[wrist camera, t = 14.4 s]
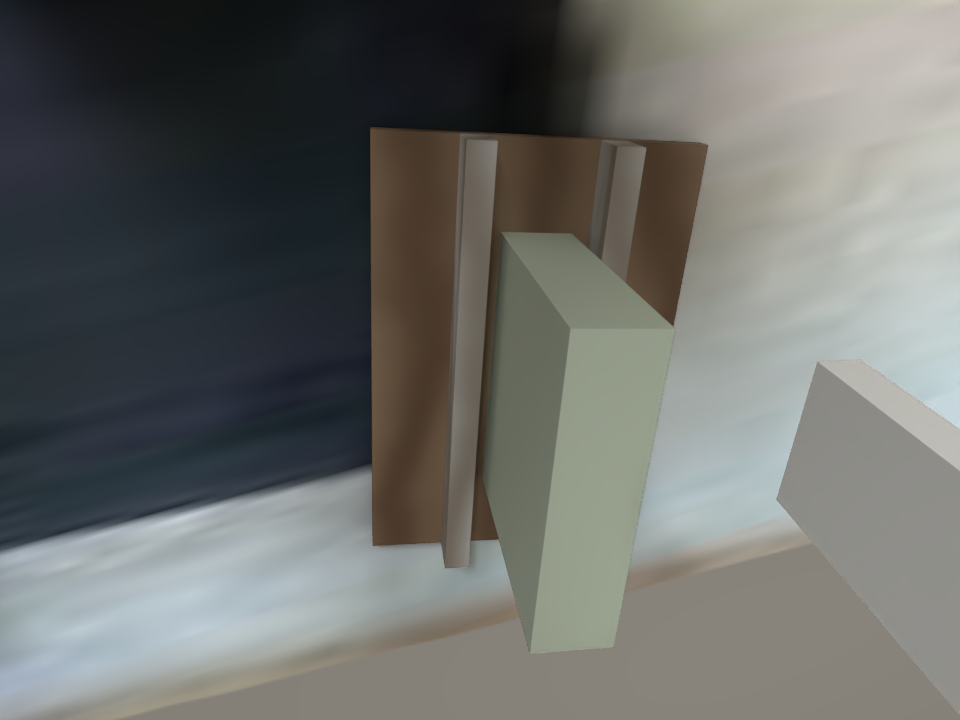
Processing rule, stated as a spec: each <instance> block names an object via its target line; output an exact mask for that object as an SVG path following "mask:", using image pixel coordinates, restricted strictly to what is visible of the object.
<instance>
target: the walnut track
mask: <svg viewBox="0 0 960 720" xmlns="http://www.w3.org/2000/svg"><path fill="white" fill-rule="evenodd" d="M707 148H708V145H706V144H703V143H696V142H675V141H654V140H633V139H612V138H590V137H569V136H548V135H527V134H506V133H485V132H464V131H443V130H422V129H401V128H379V127H370V178H371V349H372V520H373V546H378V545H397V544H416V543H436V542H441V545H442V551H443V558H444V564H445V568H458V567H469V553H470V541H474V540H493V539H499V538H498V534H497V530H496V527H495V523H494V519H493V516H492V512H491V508H490V504H489V501H488V497H487V493H486V490H485V486H484V482H483V478H482V477H483V464H484V450H485V437H486V423H487V410H488V397H489V383H490V370H491V356H492V343H493V330H494V316H495V303H496V289H497V276H498V263H499V249H500V236H501V232H526V233H569V234H573V235H574V236H575V237H576V238H577V239H578V240H579V241H580V242H581V243H583V244H584V245H585V246H586V247H587V248H588V249H589V250H590V251H591V252H592V253H593V254H595V255H596V256H597V257H598V258H599V259H600V260H601V261H602V262H603V263H604V264H605V265H607V266H608V267H609V268H610V269H611V270H612V271H613V272H614V273H615V274H616V275H617V276H619V277H620V278H621V279H622V280H623V281H624V282H625V283H626V284H627V285H628V286H629V287H631V288H632V289H633V290H634V291H635V292H636V293H637V294H638V295H639V296H640V297H641V298H642V299H644V300H645V301H646V302H647V303H648V304H649V305H650V306H651V307H652V308H653V309H654V310H656V311H657V312H658V313H659V314H660V315H661V316H662V317H663V318H664V319H665V320H666V321H668V322H669V323H670V324H671V325H672V326H673V325H674V320H675V315H676V310H677V304H678V299H679V294H680V289H681V284H682V278H683V273H684V268H685V263H686V258H687V252H688V247H689V242H690V237H691V232H692V226H693V221H694V216H695V211H696V206H697V200H698V195H699V190H700V185H701V180H702V174H703V169H704V164H705V159H706V154H707Z"/></svg>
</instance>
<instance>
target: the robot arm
mask: <svg viewBox="0 0 960 720" xmlns="http://www.w3.org/2000/svg"><path fill="white" fill-rule="evenodd" d="M777 501H778V502H779V503H780V504H781V506H782V507H783V508H784V509H785V510H786V511H787V513H788V514H789V515H790V516H791V517H792V519H793V520H794V521H795V522H796V523H797V524H798V526H799V527H800V528H801V529H802V530H803V531H804V533H805V534H806V535H807V536H808V537H809V538H810V540H811V541H812V542H813V543H814V544H815V546H816V547H817V548H818V549H819V550H820V551H821V553H822V554H823V555H824V556H825V557H826V558H827V560H828V561H829V562H830V563H831V564H832V566H833V567H834V568H835V569H836V570H837V571H838V573H839V574H840V575H841V576H842V577H843V578H844V580H845V581H846V582H847V583H848V584H849V585H850V587H851V588H852V589H853V590H854V591H855V593H856V594H857V595H858V596H859V597H860V598H861V600H862V601H863V602H864V603H865V604H866V605H867V607H868V608H869V609H870V610H871V611H872V613H873V614H874V615H875V616H876V617H877V618H878V620H879V621H880V622H881V623H882V624H883V625H884V626H885V628H886V629H887V630H888V631H889V633H890V634H891V635H892V636H893V637H894V638H895V640H896V641H897V642H898V643H899V644H900V646H901V647H902V648H903V649H904V650H905V651H906V653H907V654H908V655H909V656H910V657H911V658H912V660H913V661H914V662H915V663H916V664H917V665H918V667H919V668H920V669H921V670H922V671H923V673H924V674H925V675H926V676H927V677H928V678H929V680H930V681H931V682H932V683H933V684H934V685H935V687H936V688H937V689H938V690H939V691H940V693H941V694H942V695H943V696H944V697H945V698H946V699H947V701H948V702H949V703H950V704H951V705H952V706H953V708H954V709H955V710H956V711H957V713H958V714H959V715H960V429H959V428H958V427H956V426H955V425H953V424H952V423H951V422H949V421H948V420H946V419H945V418H943V417H942V416H941V415H939V414H938V413H936V412H935V411H933V410H932V409H931V408H929V407H928V406H926V405H925V404H923V403H922V402H920V401H919V400H918V399H916V398H915V397H913V396H912V395H910V394H909V393H908V392H906V391H905V390H903V389H902V388H900V387H899V386H898V385H896V384H895V383H893V382H892V381H890V380H889V379H888V378H886V377H885V376H883V375H882V374H880V373H879V372H878V371H876V370H875V369H873V368H872V367H870V366H869V365H868V364H866V363H865V362H863V361H862V360H844V361H819V362H817V365H816V368H815V372H814V375H813V378H812V382H811V385H810V389H809V392H808V395H807V399H806V402H805V405H804V409H803V412H802V415H801V419H800V422H799V426H798V429H797V432H796V436H795V439H794V442H793V446H792V449H791V452H790V456H789V459H788V463H787V466H786V469H785V473H784V476H783V479H782V483H781V486H780V489H779V493H778V496H777Z"/></svg>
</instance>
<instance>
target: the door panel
mask: <svg viewBox="0 0 960 720" xmlns="http://www.w3.org/2000/svg"><path fill="white" fill-rule="evenodd" d="M674 333H675V328H674V327H673V326H672V325H671V324H670V323H669V322H668V321H666V320H665V319H664V318H663V317H662V316H661V315H660V314H659V313H658V312H657V311H656V310H654V309H653V308H652V307H651V306H650V305H649V304H648V303H647V302H646V301H645V300H644V299H642V298H641V297H640V296H639V295H638V294H637V293H636V292H635V291H634V290H633V289H632V288H631V287H629V286H628V285H627V284H626V283H625V282H624V281H623V280H622V279H621V278H620V277H619V276H617V275H616V274H615V273H614V272H613V271H612V270H611V269H610V268H609V267H608V266H607V265H605V264H604V263H603V262H602V261H601V260H600V259H599V258H598V257H597V256H596V255H595V254H593V253H592V252H591V251H590V250H589V249H588V248H587V247H586V246H585V245H584V244H583V243H581V242H580V241H579V240H578V239H577V238H576V237H575V236H574V235H573V234H569V233H526V232H501V236H500V249H499V263H498V276H497V289H496V303H495V316H494V330H493V343H492V356H491V370H490V383H489V397H488V410H487V423H486V437H485V450H484V464H483V477H482V478H483V482H484V486H485V490H486V493H487V497H488V501H489V504H490V508H491V512H492V516H493V519H494V523H495V527H496V530H497V534H498V538H499V542H500V545H501V549H502V553H503V556H504V560H505V564H506V568H507V571H508V575H509V579H510V582H511V586H512V590H513V594H514V597H515V601H516V605H517V608H518V612H519V616H520V620H521V623H522V627H523V630H524V634H525V638H526V642H527V646H528V649H529V653H530V654H538V653H550V652H563V651H574V650H587V649H599V648H612V647H614V642H615V637H616V631H617V626H618V622H619V617H620V611H621V606H622V601H623V596H624V591H625V586H626V581H627V575H628V570H629V565H630V560H631V555H632V550H633V544H634V539H635V534H636V529H637V524H638V519H639V514H640V508H641V503H642V498H643V493H644V488H645V483H646V478H647V472H648V467H649V462H650V457H651V452H652V447H653V441H654V436H655V431H656V426H657V421H658V416H659V411H660V405H661V400H662V395H663V390H664V385H665V380H666V375H667V369H668V364H669V359H670V354H671V349H672V344H673V338H674Z"/></svg>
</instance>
